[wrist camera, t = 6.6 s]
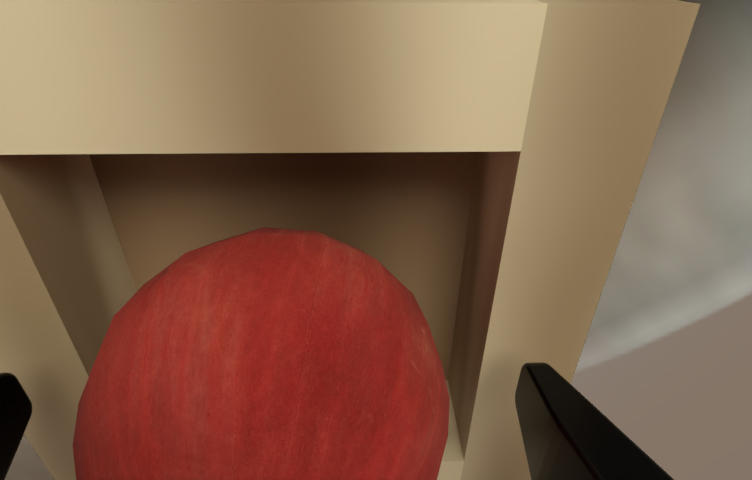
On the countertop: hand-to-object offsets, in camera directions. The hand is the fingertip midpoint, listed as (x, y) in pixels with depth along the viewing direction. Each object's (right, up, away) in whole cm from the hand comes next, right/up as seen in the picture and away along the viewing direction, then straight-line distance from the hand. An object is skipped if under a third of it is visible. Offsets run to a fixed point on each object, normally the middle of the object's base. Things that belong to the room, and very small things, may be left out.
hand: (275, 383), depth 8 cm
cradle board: (0, +3, +4) cm, 5 cm away
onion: (0, +2, +3) cm, 4 cm away
